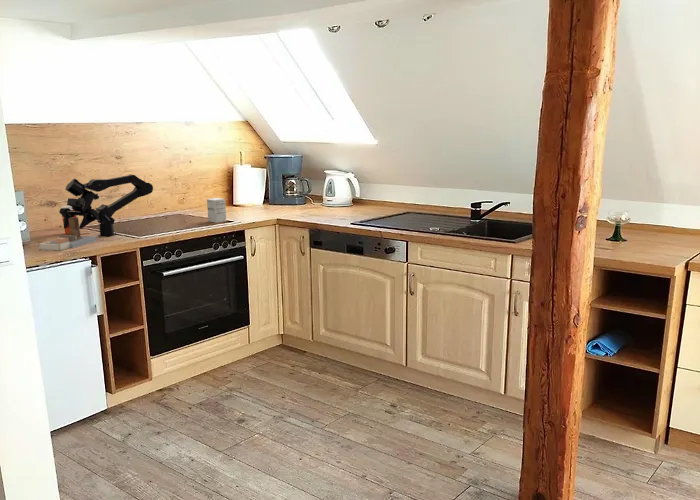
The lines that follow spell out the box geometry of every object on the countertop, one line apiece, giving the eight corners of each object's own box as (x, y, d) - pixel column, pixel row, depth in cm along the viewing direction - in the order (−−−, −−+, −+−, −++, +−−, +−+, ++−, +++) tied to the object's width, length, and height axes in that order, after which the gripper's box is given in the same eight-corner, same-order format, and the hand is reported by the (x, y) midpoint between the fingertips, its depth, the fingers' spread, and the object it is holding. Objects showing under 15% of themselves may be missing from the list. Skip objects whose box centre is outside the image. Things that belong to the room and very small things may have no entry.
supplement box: (207, 221, 342) (206, 199, 340) (219, 219, 348) (217, 197, 345) (215, 223, 337) (214, 200, 335) (226, 221, 343) (225, 198, 340)
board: (72, 239, 301) (71, 235, 300) (97, 240, 297) (96, 236, 296) (47, 247, 285) (46, 242, 284) (72, 248, 281) (72, 243, 280)
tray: (49, 247, 284) (49, 240, 284) (70, 248, 281) (69, 241, 281) (39, 250, 278) (38, 243, 277) (60, 251, 275) (59, 244, 275)
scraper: (70, 237, 295) (67, 217, 293) (86, 238, 293) (83, 217, 291) (59, 240, 289) (56, 219, 286) (75, 241, 286) (73, 220, 284)
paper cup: (67, 232, 321) (64, 205, 318) (82, 232, 321) (78, 205, 318) (60, 235, 313) (56, 207, 310) (75, 234, 313) (71, 207, 310)
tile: (62, 241, 287) (61, 237, 286) (69, 241, 286) (68, 237, 285) (56, 243, 283) (55, 238, 283) (63, 243, 282) (62, 239, 282)
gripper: (59, 191, 294) (45, 218, 286) (92, 191, 289) (79, 219, 281) (72, 205, 303) (59, 231, 295) (105, 205, 298) (92, 232, 290)
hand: (72, 228), depth 290 cm, fingers open, 8 cm apart
